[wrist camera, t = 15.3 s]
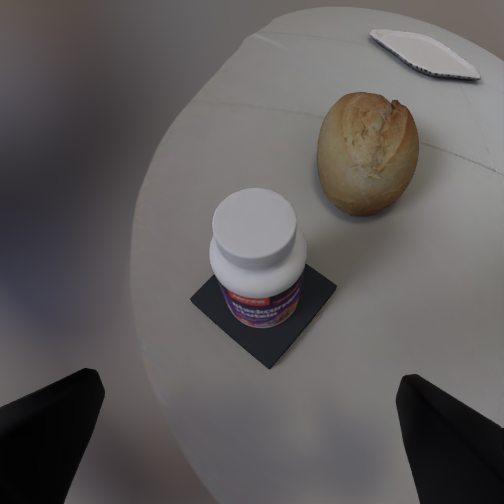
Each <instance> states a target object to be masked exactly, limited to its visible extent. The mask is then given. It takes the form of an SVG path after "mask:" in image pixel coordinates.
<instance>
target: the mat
mask: <svg viewBox="0 0 504 504" xmlns="http://www.w3.org/2000/svg"><path fill="white" fill-rule="evenodd" d="M336 288H337V286H336V285H335V284H334V283H332V282H331V281H330V280H328V279H327V278H325V277H324V276H323V275H321V274H320V273H318V272H317V271H316V270H314V269H313V268H311V267H310V266H309V265H307V264H305V269H304V274H303V279H302V285H301V290H300V295H299V300H298V303H297V306H296V308H295V310H294V311H293V313H292V314H291V315H290V316H289V317H288V318H287V319H286V320H285V321H283V322H282V323H280V324H278V325H276V326H273V327H269V328H256V327H251V326H248V325H246V324H244V323H242V322H241V321H240V320H238V319H237V318H236V317H235V316H234V315H233V313H232V312H231V310H230V309H229V307H228V305H227V302H226V300H225V298H224V295H223V293H222V290H221V288H220V286H219V284H218V281H217V279H216V277H215V274H214V275H213V276H212V277H211V278H210V279H209V280H208V281H207V282H206V283H205V284H204V285H203V286H202V287H201V288H200V289H199V290H198V291H197V292H196V293H195V294H194V295H193V296H192V297H191V298H190V300H191V301H192V303H193V304H195V305H196V306H197V307H198V308H199V309H200V310H201V311H202V312H203V313H204V314H205V315H207V316H208V317H209V318H210V319H211V320H212V321H213V322H214V323H215V324H217V325H218V326H219V327H220V328H221V329H222V330H223V331H224V332H226V333H227V334H228V335H229V336H230V337H231V338H232V339H234V340H235V341H236V342H237V343H238V344H239V345H241V346H242V347H243V348H244V349H245V350H246V351H248V352H249V353H250V354H251V355H252V356H254V357H255V358H256V359H257V360H258V361H260V362H261V363H262V364H263V365H264V366H266V367H267V368H268V369H270V368H271V367H272V366H273V365H274V364H275V363H276V362H277V361H278V359H279V358H280V357H281V356H282V355H283V354H284V353H285V351H286V350H287V349H288V348H289V347H290V346H291V344H292V343H293V342H294V341H295V340H296V338H297V337H298V336H299V335H300V334H301V333H302V331H303V330H304V329H305V328H306V326H307V325H308V324H309V323H310V322H311V320H312V319H313V318H314V317H315V315H316V314H317V313H318V312H319V310H320V309H321V308H322V307H323V305H324V304H325V303H326V302H327V300H328V299H329V298H330V297H331V295H332V294H333V293H334V291H335V290H336Z"/></svg>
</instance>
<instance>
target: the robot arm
mask: <svg viewBox="0 0 504 504" xmlns="http://www.w3.org/2000/svg"><path fill="white" fill-rule="evenodd" d="M104 397H105V390H104V387H103V384H102V382H101V379H100V376H99V374H98V372H97V371H96V370H94V369H89V368H84V369H81V370H79V371H77V372H75V373H73V374H71V375H69V376H67V377H65V378H63V379H61V380H59V381H56V382H54V383H52V384H50V385H48V386H46V387H44V388H41V389H39V390H37V391H35V392H33V393H31V394H28V395H26V396H24V397H22V398H20V399H17V400H16V401H13V402H11V403H9V404H6V405H4V406H2V407H0V504H64V502H65V499H66V496H67V494H68V491H69V488H70V486H71V484H72V481H73V478H74V476H75V474H76V471H77V469H78V466H79V464H80V462H81V459H82V457H83V455H84V452H85V450H86V448H87V445H88V443H89V441H90V438H91V436H92V433H93V430H94V428H95V424H96V421H97V418H98V415H99V412H100V409H101V406H102V403H103V400H104ZM396 406H397V411H398V416H399V421H400V427H401V432H402V438H403V443H404V447H405V451H406V454H407V458H408V461H409V464H410V468H411V471H412V475H413V478H414V482H415V486H416V489H417V493H418V497H419V501H420V504H504V428H501V426H499V425H498V424H496V423H494V422H493V421H491V420H490V419H488V418H486V417H485V416H483V415H481V414H480V413H478V412H477V411H475V410H473V409H472V408H470V407H469V406H467V405H465V404H464V403H462V402H461V401H459V400H457V399H456V398H454V397H453V396H451V395H449V394H448V393H446V392H445V391H443V390H441V389H440V388H438V387H437V386H435V385H433V384H432V383H430V382H429V381H427V380H425V379H424V378H422V377H421V376H419V375H417V374H411V375H405V376H403V377H402V379H401V382H400V386H399V389H398V392H397V395H396Z"/></svg>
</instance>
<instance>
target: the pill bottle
mask: <svg viewBox="0 0 504 504" xmlns="http://www.w3.org/2000/svg"><path fill="white" fill-rule="evenodd" d="M212 229H213V234H214V235H213V238H212V240H211V244H210V251H209V256H210V263H211V266H212V269H213V272H214V274H215V277H216V279H217V281H218V284H219V286H220V288H221V290H222V293H223V295H224V298H225V300H226V302H227V305H228V307H229V309H230V310H231V312H232V313H233V315H234V316H235V317H236V318H237V319H238V320H240V321H241V322H242V323H244V324H246V325H248V326H251V327H256V328H269V327H273V326H276V325H278V324H280V323H282V322H283V321H285V320H286V319H287V318H288V317H289V316H290V315H291V314H292V313H293V311H294V310H295V308H296V306H297V303H298V300H299V295H300V290H301V285H302V279H303V274H304V269H305V264H306V258H307V245H306V241H305V238H304V235H303V233H302V231H301V229H300V228H299V227H298V225H297V219H296V214H295V211H294V209H293V207H292V205H291V204H290V203H289V201H288V200H287V199H286V198H285V197H283V196H282V195H280V194H278V193H277V192H274V191H272V190H268V189H263V188H248V189H244V190H240V191H237V192H235V193H233V194H231V195H229V196H228V197H227V198H225V199H224V200H223V201H222V202H221V203H220V205H219V206H218V207H217V209H216V211H215V213H214V216H213V221H212Z"/></svg>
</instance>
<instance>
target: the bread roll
mask: <svg viewBox="0 0 504 504" xmlns="http://www.w3.org/2000/svg"><path fill="white" fill-rule="evenodd" d="M418 153H419V140H418V133H417V128H416V125H415V122H414V119H413V117H412V115H411V113H410V111H409V110H408V109H407V107H406V106H404V105H401V104H400V103H399V102H398V100H392V103H390V102H389V101H388V100H387V99H386V98H384V97H383V96H381V95H377V94H372V93H366V92H356V93H350V94H347V95H345V96H343V97H342V98H340V99H339V100H338V101H337V102H336V103H335V104H334V106H333V107H332V108H331V109H330V110H329V112H328V113H327V115H326V116H325V119H324V121H323V124H322V127H321V130H320V134H319V139H318V147H317V163H318V172H319V177H320V181H321V184H322V188H323V191H324V193H325V194H326V196H327V197H328V198H329V200H330V201H331V202H332V203H333V204H334V205H335V206H337V207H338V208H339V209H340V210H342V211H343V212H346V213H348V214H349V215H350V216H353V215H354V216H366V215H373V214H375V213H377V212H379V211H381V210H383V209H384V208H386V207H388V206H390V205H391V204H392V203H394V202H395V201H396V200H397V199H398V197H399V196H400V195H401V194H402V193H403V192H404V190H405V189H406V188H407V186H408V184H409V183H410V181H411V179H412V177H413V175H414V172H415V168H416V165H417V160H418Z"/></svg>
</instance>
